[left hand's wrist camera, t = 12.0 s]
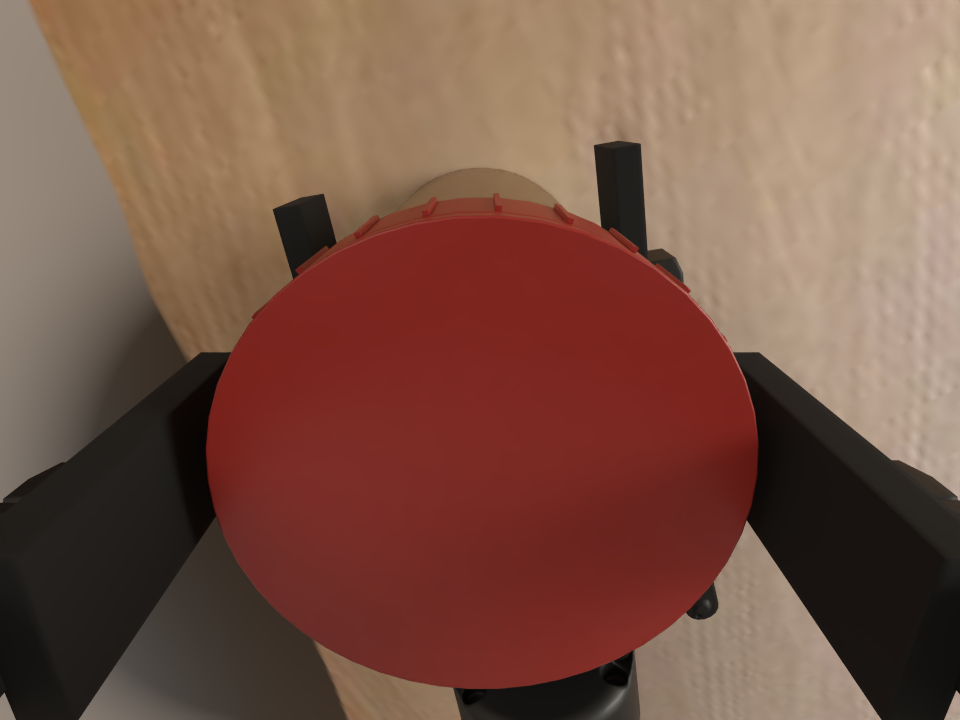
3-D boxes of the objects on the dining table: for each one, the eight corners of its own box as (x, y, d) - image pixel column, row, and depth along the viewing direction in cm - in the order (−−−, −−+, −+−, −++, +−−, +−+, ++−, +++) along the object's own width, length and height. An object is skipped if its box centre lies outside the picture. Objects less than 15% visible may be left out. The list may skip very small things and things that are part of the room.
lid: (397, 656, 15) (382, 748, 13) (153, 334, 12) (78, 383, 9) (770, 512, 13) (827, 589, 11) (605, 91, 10) (640, 82, 8)
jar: (440, 396, 27) (394, 706, 13) (342, 228, 24) (138, 383, 10) (613, 315, 26) (783, 563, 11) (529, 127, 23) (613, 135, 8)
